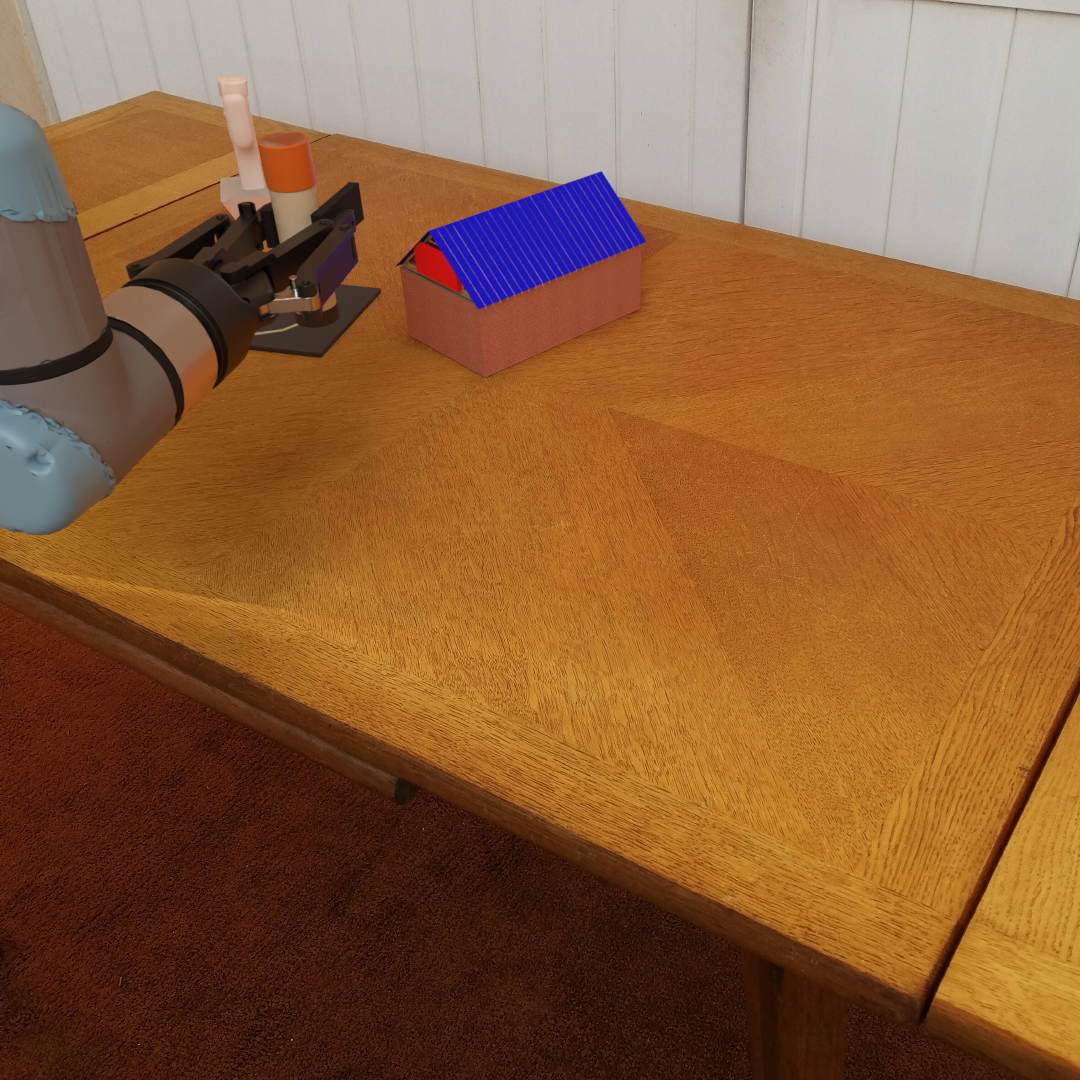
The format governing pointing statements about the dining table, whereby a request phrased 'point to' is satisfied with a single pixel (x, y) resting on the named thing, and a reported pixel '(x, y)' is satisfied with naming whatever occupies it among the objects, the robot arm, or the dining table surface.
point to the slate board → (314, 341)
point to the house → (524, 275)
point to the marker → (293, 196)
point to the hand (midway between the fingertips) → (332, 198)
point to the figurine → (241, 149)
